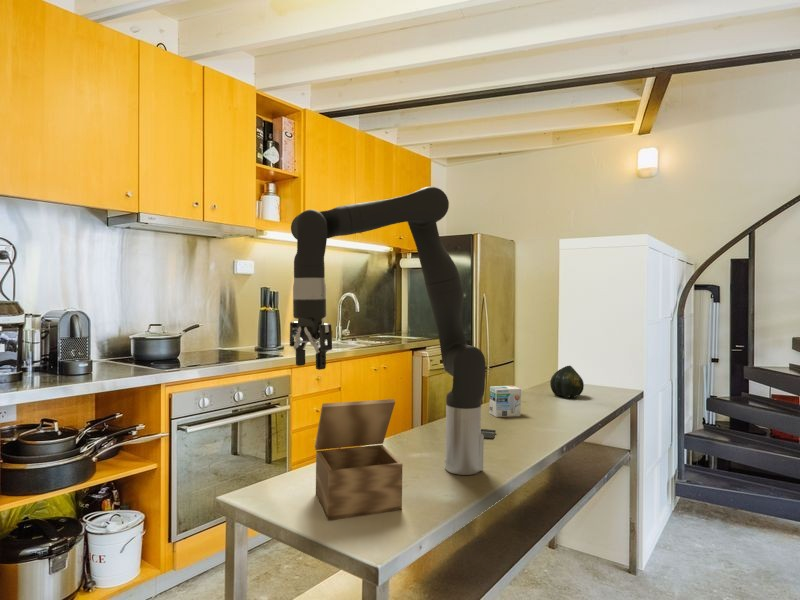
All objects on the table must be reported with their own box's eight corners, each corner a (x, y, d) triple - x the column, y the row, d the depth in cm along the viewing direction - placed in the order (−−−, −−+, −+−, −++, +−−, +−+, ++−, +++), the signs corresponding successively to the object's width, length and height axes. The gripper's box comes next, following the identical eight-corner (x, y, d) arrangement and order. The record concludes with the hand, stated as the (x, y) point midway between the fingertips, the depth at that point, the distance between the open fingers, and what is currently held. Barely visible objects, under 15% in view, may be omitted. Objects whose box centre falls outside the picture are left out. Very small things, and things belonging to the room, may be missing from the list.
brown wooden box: (381, 485, 119) (382, 444, 119) (401, 509, 106) (402, 463, 106) (315, 494, 114) (316, 450, 114) (328, 520, 101) (329, 471, 100)
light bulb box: (495, 417, 188) (496, 389, 188) (488, 413, 195) (489, 386, 194) (521, 416, 191) (521, 388, 190) (513, 412, 197) (513, 385, 197)
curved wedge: (456, 430, 170) (456, 426, 170) (495, 434, 167) (496, 430, 166) (451, 437, 163) (451, 432, 163) (493, 441, 159) (493, 436, 159)
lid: (383, 443, 119) (381, 439, 120) (395, 402, 111) (393, 398, 112) (315, 450, 114) (314, 446, 114) (323, 407, 106) (322, 403, 107)
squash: (552, 387, 221) (573, 362, 222) (539, 383, 236) (560, 359, 237) (574, 408, 222) (596, 383, 223) (561, 402, 237) (581, 379, 238)
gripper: (340, 297, 112) (341, 368, 112) (306, 297, 122) (307, 362, 122) (312, 298, 107) (313, 372, 107) (279, 297, 117) (280, 365, 117)
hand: (310, 367), depth 115 cm, fingers open, 8 cm apart
